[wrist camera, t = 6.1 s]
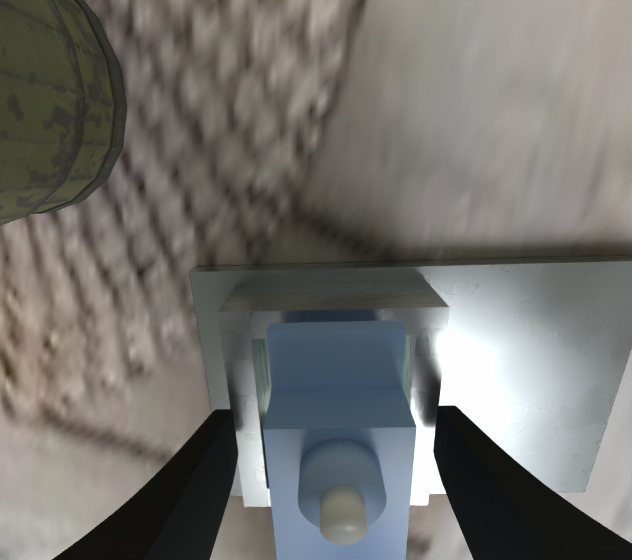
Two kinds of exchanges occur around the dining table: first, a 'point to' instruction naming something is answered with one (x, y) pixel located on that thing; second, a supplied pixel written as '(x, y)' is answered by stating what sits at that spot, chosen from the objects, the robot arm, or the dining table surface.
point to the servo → (339, 440)
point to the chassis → (439, 350)
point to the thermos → (55, 106)
